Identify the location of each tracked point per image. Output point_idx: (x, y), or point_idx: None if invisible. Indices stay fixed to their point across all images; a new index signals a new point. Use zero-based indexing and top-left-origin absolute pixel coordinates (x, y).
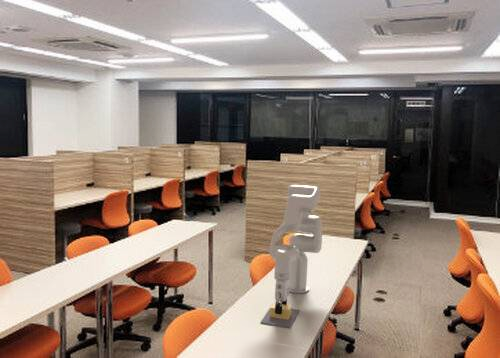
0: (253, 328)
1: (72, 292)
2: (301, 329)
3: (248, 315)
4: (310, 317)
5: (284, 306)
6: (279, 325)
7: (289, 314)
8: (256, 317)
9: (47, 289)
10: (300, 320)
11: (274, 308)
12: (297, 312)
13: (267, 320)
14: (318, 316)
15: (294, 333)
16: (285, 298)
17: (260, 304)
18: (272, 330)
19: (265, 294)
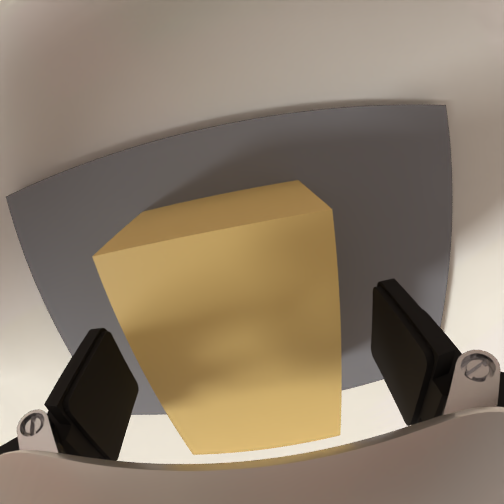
0: (485, 345)
1: None
2: (386, 4)
3: (333, 446)
4: (67, 33)
5: (201, 343)
6: (451, 215)
7: (252, 198)
8: (342, 414)
9: None
10: (187, 69)
11: (340, 404)
12: (56, 180)
13: None
14: (26, 6)
15: (475, 56)
16: (487, 474)
17: (143, 453)
18: (496, 236)
19: None
